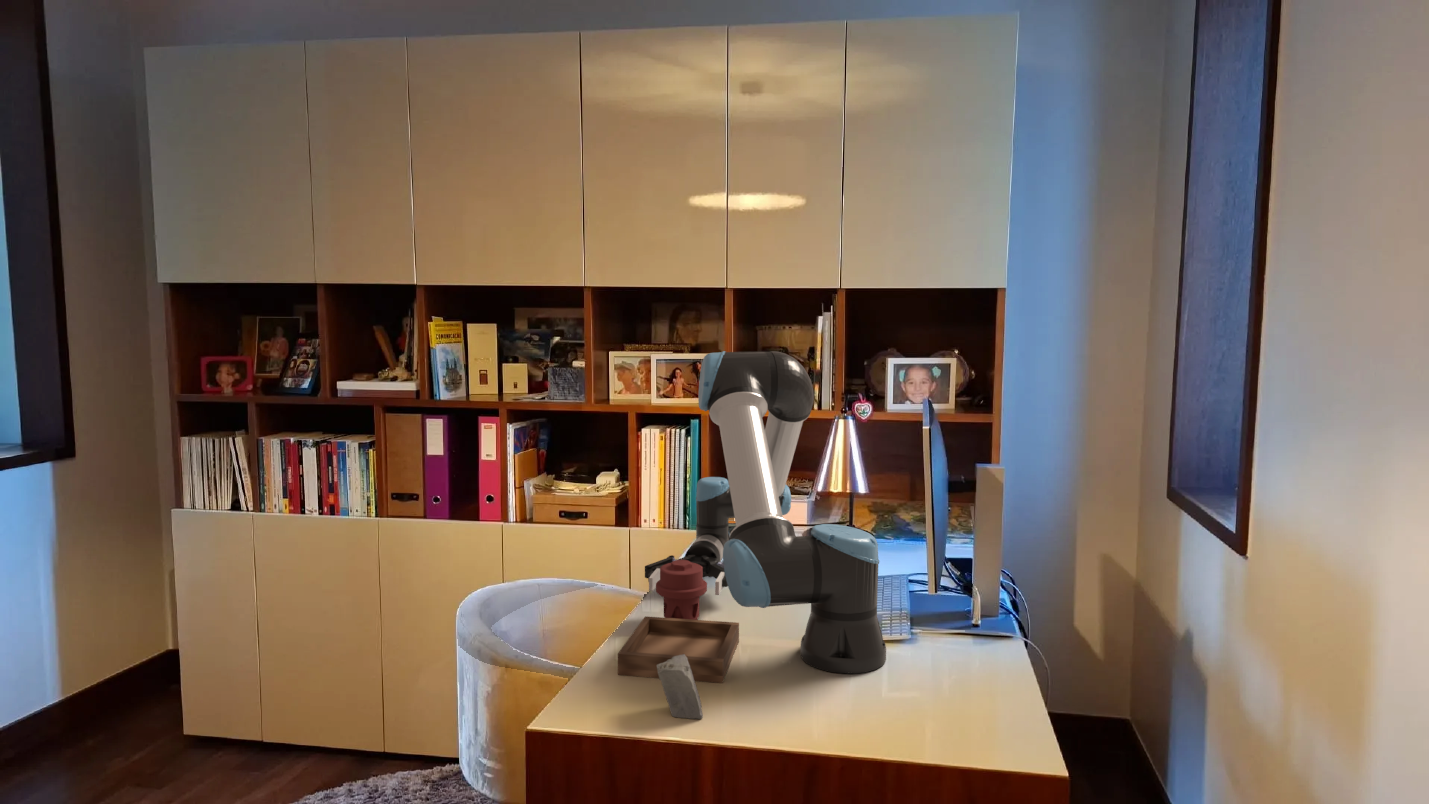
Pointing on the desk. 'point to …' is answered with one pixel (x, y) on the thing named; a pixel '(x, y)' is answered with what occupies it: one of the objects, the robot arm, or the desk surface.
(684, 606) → the mechanical component
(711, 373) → the robot arm
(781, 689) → the desk surface
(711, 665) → the walnut tray
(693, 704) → the mineral specimen
